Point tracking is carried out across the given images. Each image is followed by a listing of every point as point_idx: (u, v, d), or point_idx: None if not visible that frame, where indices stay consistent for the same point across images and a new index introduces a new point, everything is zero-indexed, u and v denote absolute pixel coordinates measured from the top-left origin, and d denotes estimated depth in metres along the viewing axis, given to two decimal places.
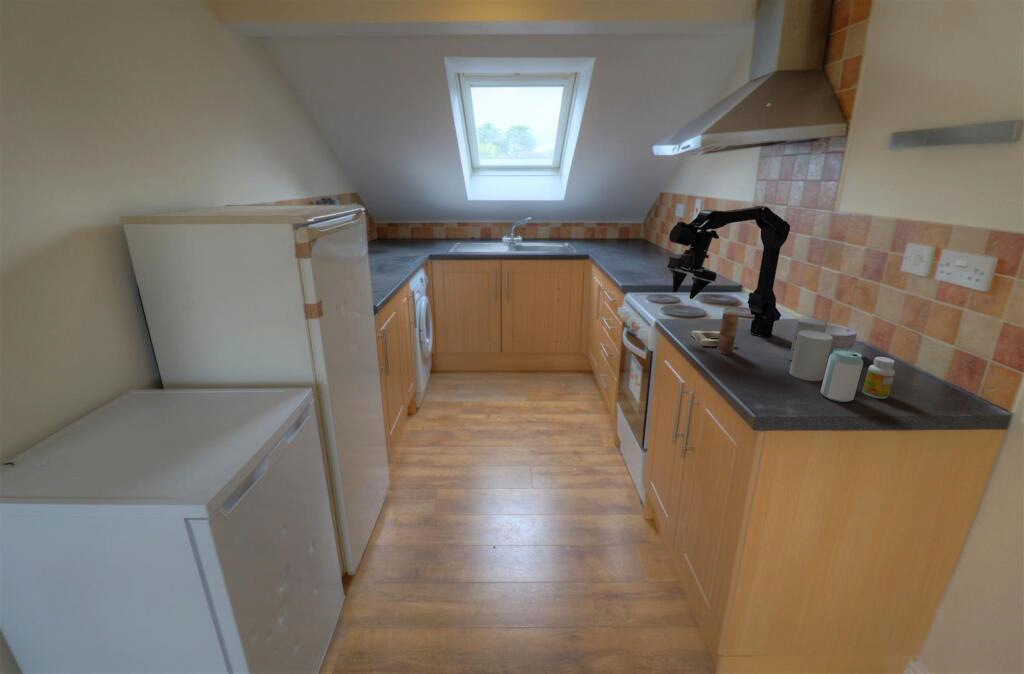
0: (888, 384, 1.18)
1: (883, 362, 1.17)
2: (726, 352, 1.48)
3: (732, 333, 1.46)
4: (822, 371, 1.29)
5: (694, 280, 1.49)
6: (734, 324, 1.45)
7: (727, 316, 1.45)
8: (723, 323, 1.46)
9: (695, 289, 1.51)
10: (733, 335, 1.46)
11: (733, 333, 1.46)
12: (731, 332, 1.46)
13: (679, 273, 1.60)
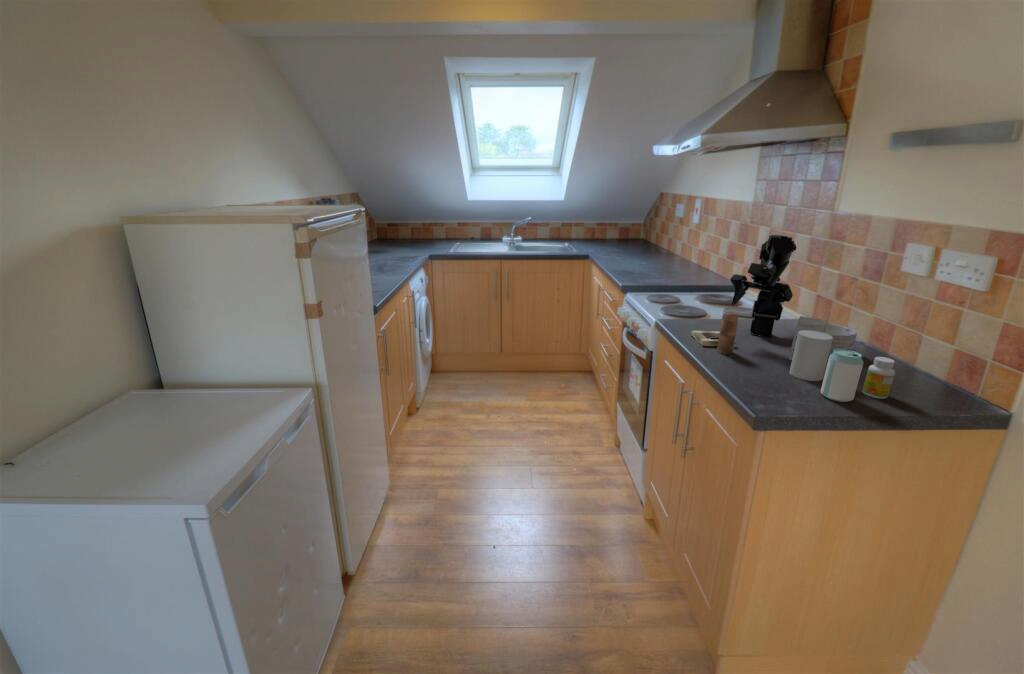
0: (888, 384, 1.18)
1: (883, 362, 1.17)
2: (726, 352, 1.48)
3: (732, 333, 1.46)
4: (822, 371, 1.29)
5: (772, 292, 1.45)
6: (734, 324, 1.45)
7: (727, 316, 1.45)
8: (723, 323, 1.46)
9: (768, 302, 1.46)
10: (733, 335, 1.46)
11: (733, 333, 1.46)
12: (731, 332, 1.46)
13: (742, 288, 1.55)
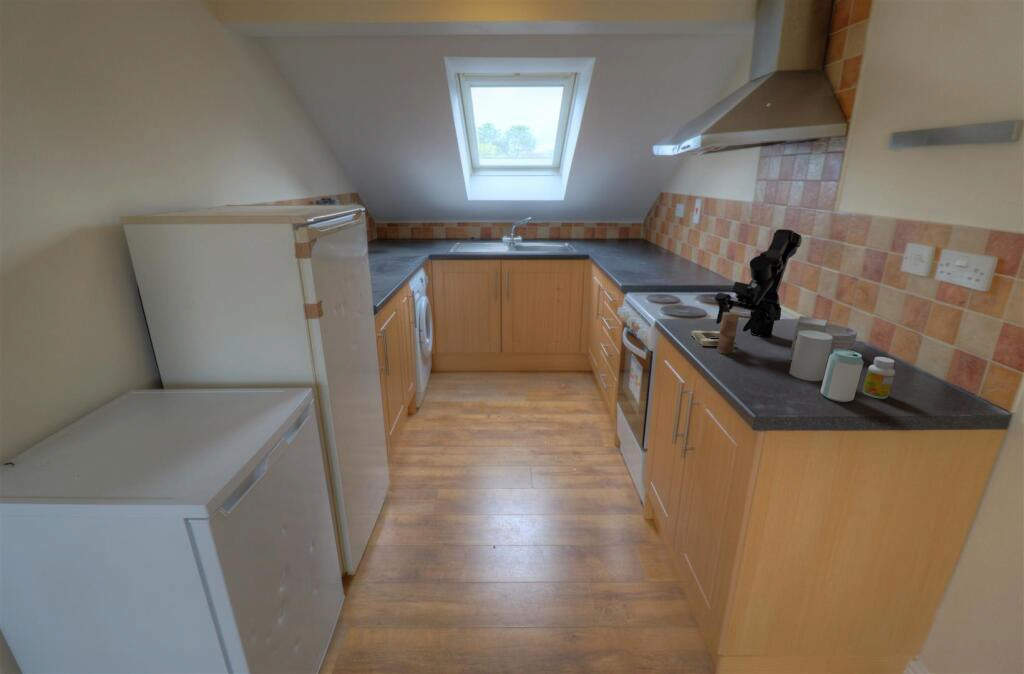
0: (888, 384, 1.18)
1: (883, 362, 1.17)
2: (726, 352, 1.48)
3: (732, 333, 1.46)
4: (822, 371, 1.29)
5: (757, 312, 1.42)
6: (734, 324, 1.45)
7: (727, 316, 1.45)
8: (723, 323, 1.46)
9: (752, 322, 1.43)
10: (733, 335, 1.46)
11: (733, 333, 1.46)
12: (731, 332, 1.46)
13: (726, 307, 1.53)
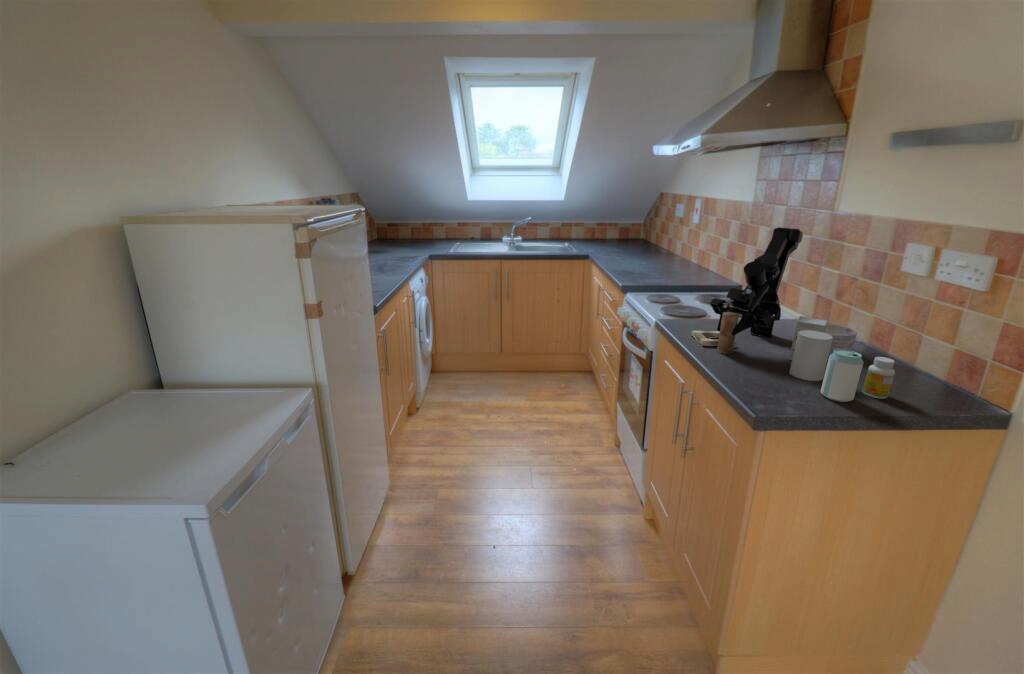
0: (888, 384, 1.18)
1: (883, 362, 1.17)
2: (726, 352, 1.48)
3: None
4: (822, 371, 1.29)
5: (745, 316, 1.44)
6: (734, 324, 1.45)
7: (727, 316, 1.45)
8: (723, 323, 1.46)
9: (741, 326, 1.45)
10: None
11: None
12: (731, 332, 1.46)
13: None
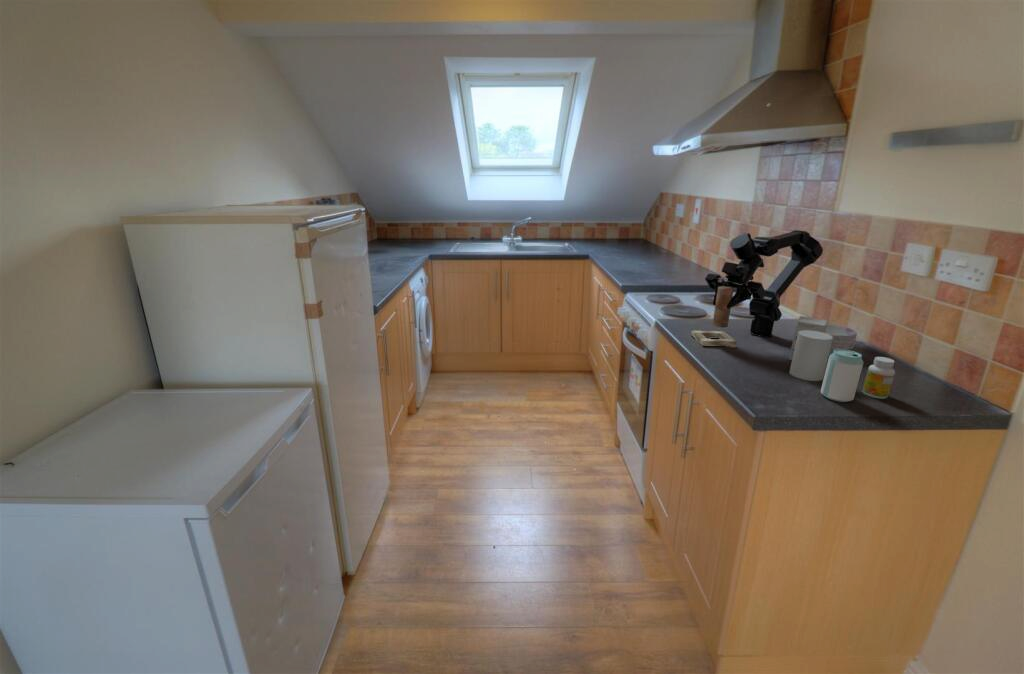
0: (888, 384, 1.18)
1: (883, 362, 1.17)
2: (722, 325, 1.52)
3: None
4: (822, 371, 1.29)
5: (740, 289, 1.48)
6: (729, 297, 1.50)
7: (722, 290, 1.49)
8: (719, 297, 1.51)
9: (736, 299, 1.49)
10: None
11: None
12: (726, 305, 1.50)
13: None
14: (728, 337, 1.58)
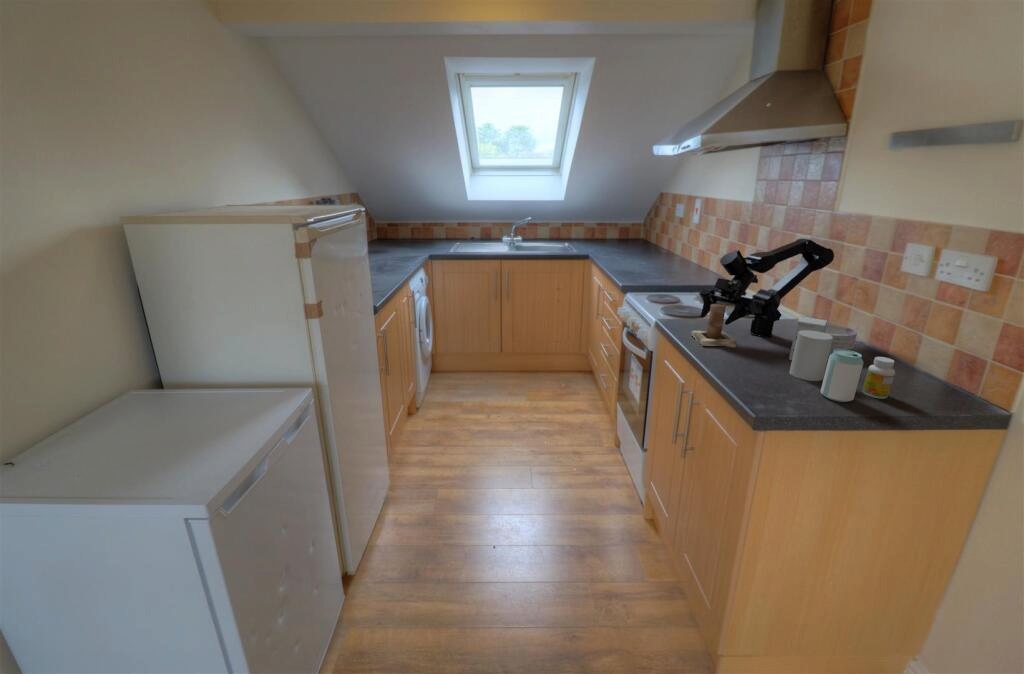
0: (888, 384, 1.18)
1: (883, 362, 1.17)
2: None
3: (719, 323, 1.55)
4: (822, 371, 1.29)
5: (738, 306, 1.51)
6: (721, 315, 1.55)
7: (714, 308, 1.55)
8: (711, 314, 1.56)
9: (734, 316, 1.52)
10: (720, 325, 1.56)
11: (720, 324, 1.56)
12: (718, 322, 1.55)
13: (710, 302, 1.62)
14: (728, 337, 1.58)
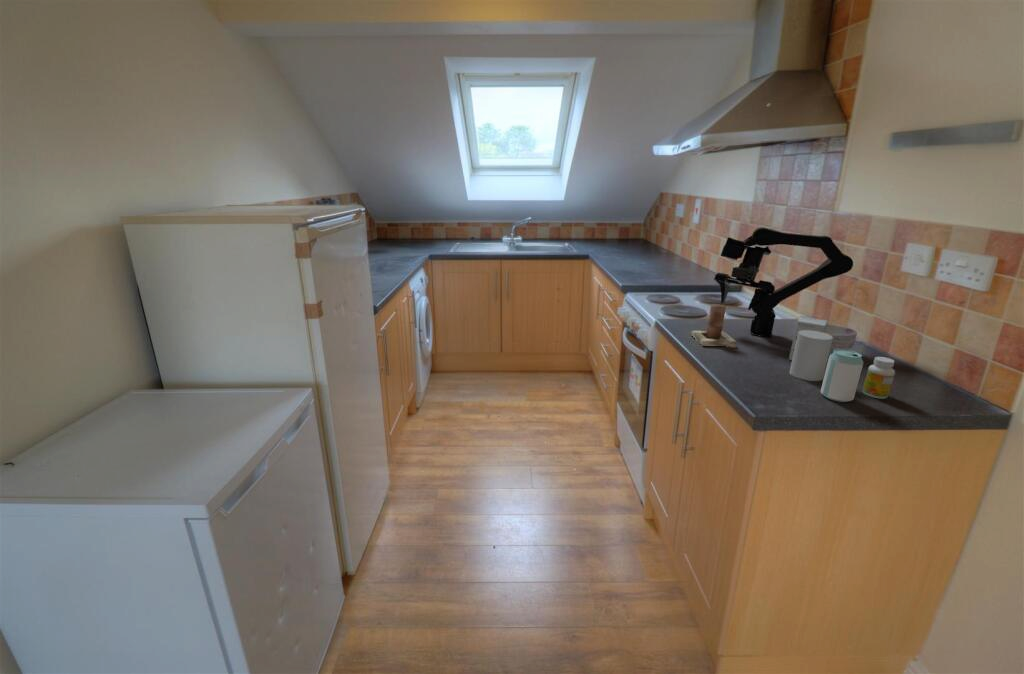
0: (888, 384, 1.18)
1: (883, 362, 1.17)
2: None
3: (719, 323, 1.55)
4: (822, 371, 1.29)
5: (758, 291, 1.57)
6: (722, 315, 1.55)
7: (715, 308, 1.54)
8: (711, 314, 1.56)
9: (755, 300, 1.59)
10: (720, 325, 1.56)
11: (720, 324, 1.56)
12: (718, 322, 1.55)
13: (726, 285, 1.66)
14: (728, 337, 1.58)
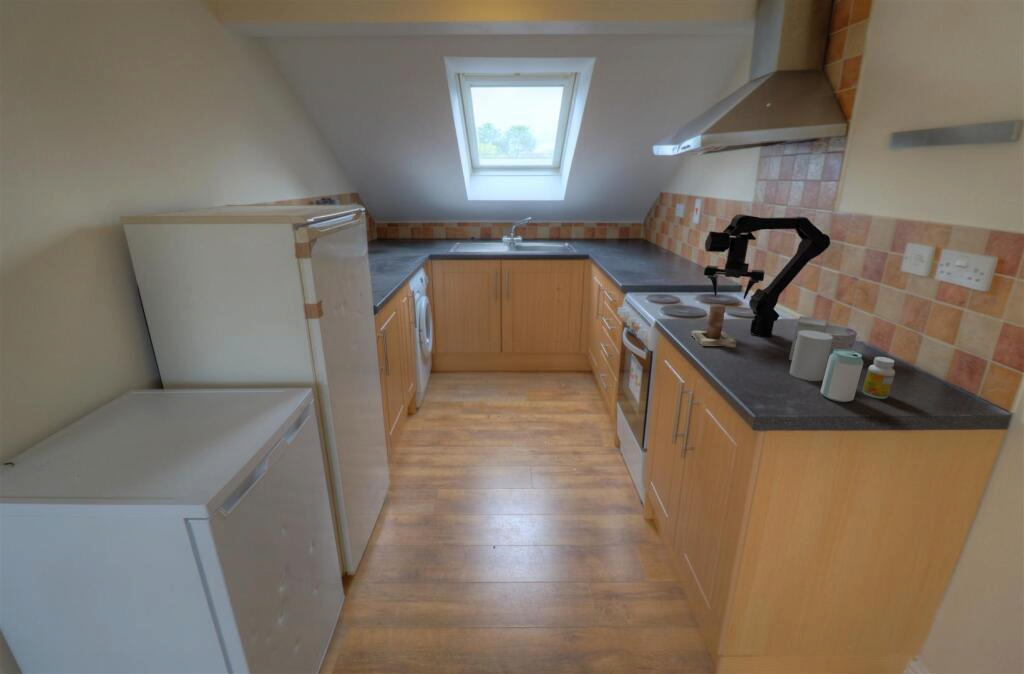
0: (888, 384, 1.18)
1: (883, 362, 1.17)
2: None
3: (719, 323, 1.55)
4: (822, 371, 1.29)
5: (751, 283, 1.59)
6: (721, 315, 1.55)
7: (714, 308, 1.54)
8: (711, 314, 1.56)
9: None
10: (720, 325, 1.56)
11: (720, 324, 1.56)
12: (718, 322, 1.55)
13: (716, 277, 1.66)
14: (728, 337, 1.58)
